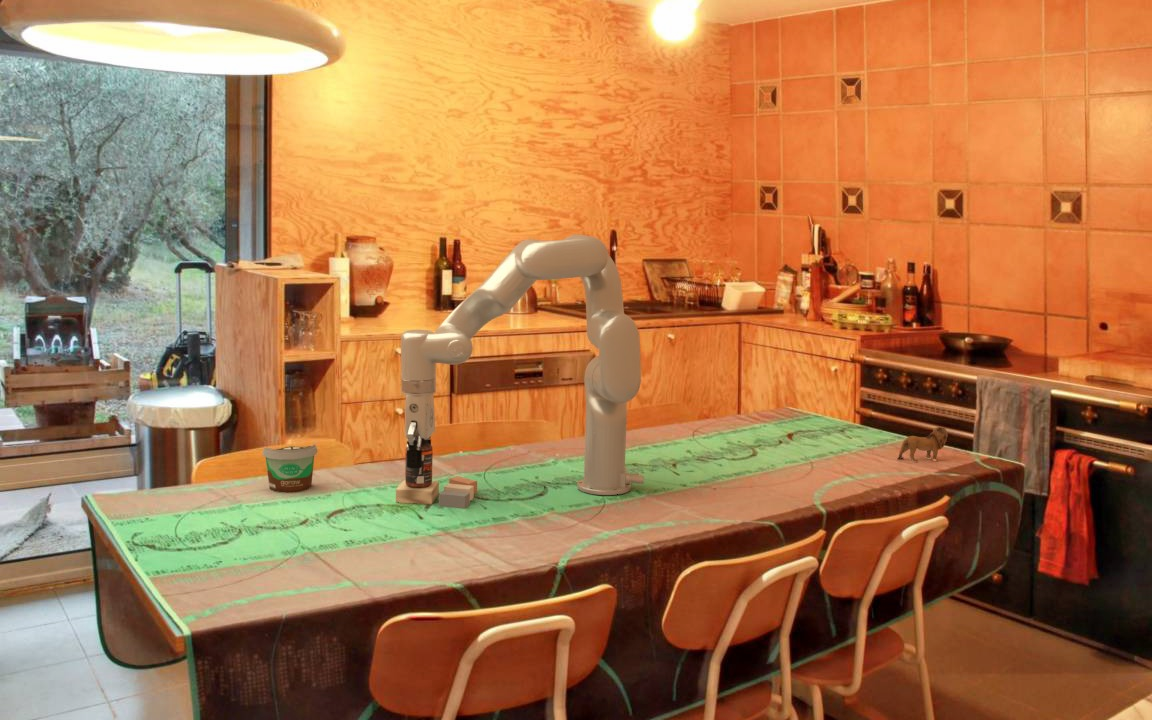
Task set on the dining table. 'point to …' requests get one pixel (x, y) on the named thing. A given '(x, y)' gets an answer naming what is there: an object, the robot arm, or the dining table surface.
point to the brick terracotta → (464, 482)
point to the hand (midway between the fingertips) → (419, 461)
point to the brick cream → (461, 489)
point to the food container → (290, 468)
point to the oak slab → (417, 493)
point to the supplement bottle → (423, 474)
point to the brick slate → (454, 499)
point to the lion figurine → (925, 443)
